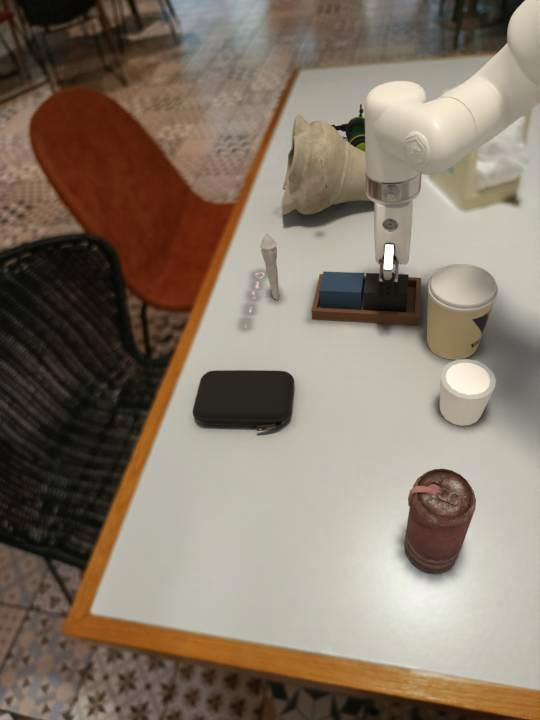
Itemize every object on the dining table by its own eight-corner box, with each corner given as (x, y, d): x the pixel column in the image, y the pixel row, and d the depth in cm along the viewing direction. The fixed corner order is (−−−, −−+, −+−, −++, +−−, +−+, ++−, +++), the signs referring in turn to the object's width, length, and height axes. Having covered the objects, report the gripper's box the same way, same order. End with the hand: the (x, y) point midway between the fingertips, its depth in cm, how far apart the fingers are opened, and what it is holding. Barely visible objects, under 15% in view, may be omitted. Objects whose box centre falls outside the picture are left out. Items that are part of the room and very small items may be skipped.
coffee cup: (480, 369, 78) (495, 310, 69) (416, 358, 81) (423, 300, 72) (486, 326, 84) (501, 266, 75) (426, 317, 87) (434, 258, 78)
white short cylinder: (446, 383, 77) (453, 351, 72) (493, 401, 74) (503, 370, 69) (427, 416, 74) (432, 385, 69) (475, 437, 71) (484, 406, 65)
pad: (407, 292, 90) (408, 274, 87) (405, 312, 87) (407, 294, 84) (366, 290, 92) (366, 272, 89) (363, 310, 89) (363, 292, 86)
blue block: (364, 290, 92) (364, 272, 89) (361, 310, 89) (361, 292, 86) (324, 288, 94) (323, 271, 91) (320, 308, 90) (318, 290, 87)
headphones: (405, 124, 111) (311, 133, 114) (403, 167, 118) (314, 173, 121) (399, 93, 121) (313, 101, 124) (397, 134, 129) (316, 140, 132)
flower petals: (256, 273, 100) (255, 270, 100) (266, 273, 100) (265, 270, 100) (239, 328, 91) (238, 326, 90) (250, 329, 90) (249, 326, 90)
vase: (427, 112, 106) (291, 91, 105) (450, 145, 90) (289, 121, 89) (397, 212, 120) (277, 194, 119) (412, 257, 103) (272, 237, 102)
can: (398, 524, 64) (405, 466, 54) (452, 522, 63) (469, 463, 53) (405, 574, 60) (414, 522, 50) (462, 574, 59) (484, 520, 49)
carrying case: (191, 434, 77) (290, 436, 75) (186, 422, 75) (288, 424, 72) (204, 378, 84) (296, 378, 81) (200, 365, 82) (294, 365, 79)
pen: (273, 292, 96) (262, 227, 85) (286, 295, 95) (277, 230, 84) (267, 301, 94) (255, 236, 84) (280, 304, 93) (270, 239, 83)
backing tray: (420, 286, 92) (421, 277, 90) (418, 325, 86) (419, 316, 84) (320, 282, 96) (319, 273, 94) (312, 319, 90) (311, 310, 88)
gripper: (419, 216, 66) (412, 315, 79) (422, 150, 77) (416, 246, 90) (359, 216, 68) (361, 313, 80) (371, 152, 79) (371, 246, 92)
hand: (390, 278), depth 85 cm, fingers open, 9 cm apart
